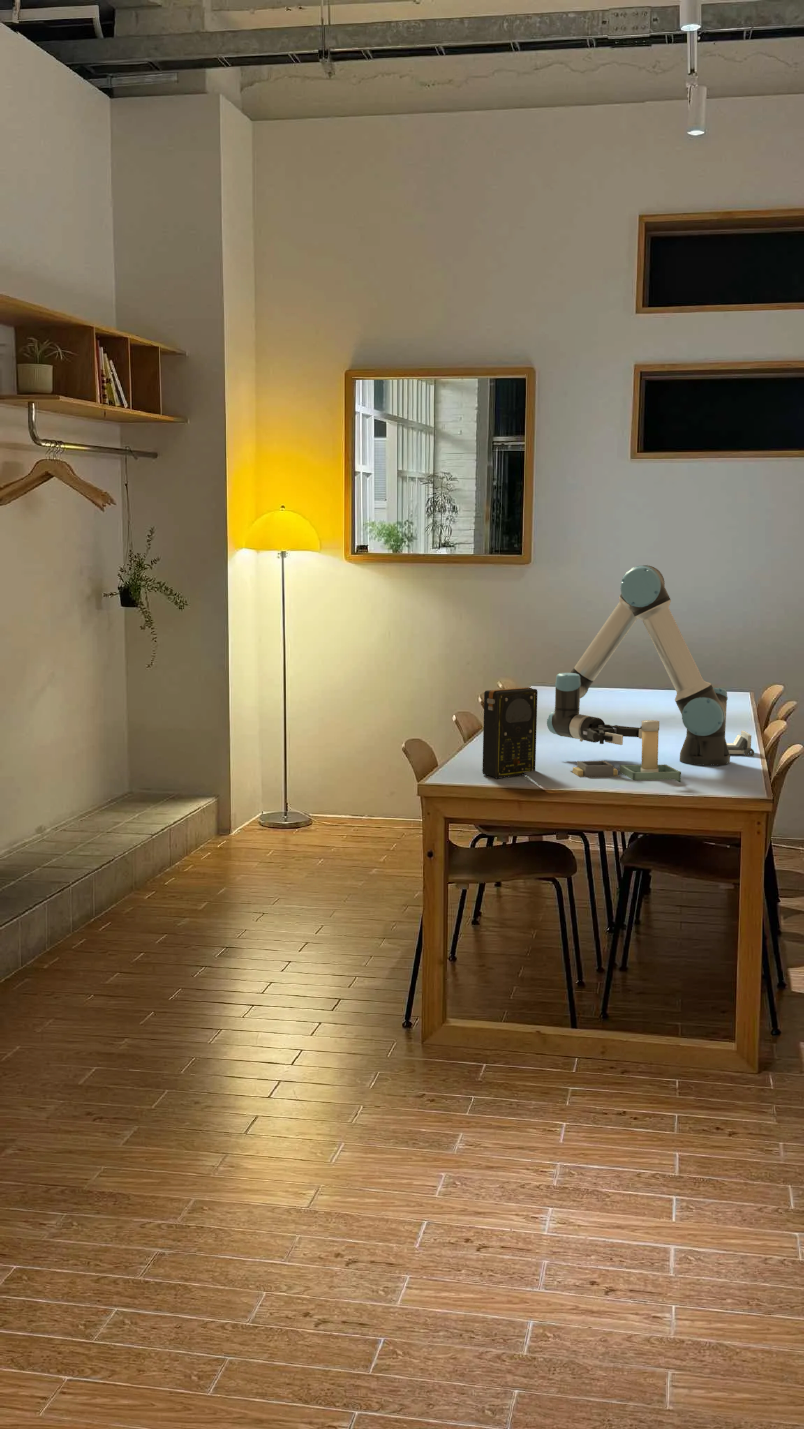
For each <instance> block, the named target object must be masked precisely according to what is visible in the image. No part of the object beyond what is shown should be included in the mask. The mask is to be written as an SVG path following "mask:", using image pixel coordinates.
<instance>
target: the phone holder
mask: <svg viewBox="0 0 804 1429" xmlns="http://www.w3.org/2000/svg"><path fill="white" fill-rule="evenodd" d="M726 743H727V747H728V750H729V754H730V755H744V756H745V757H749V758H752V757H754V756H755V751H754V749H753V748H752V735H751V734H750V733H748V732H747V731H745V730H741V731H740V734H737V736H736V737H735V739H734V741H733V743H732V742H726Z"/></svg>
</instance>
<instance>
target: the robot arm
mask: <svg viewBox="0 0 804 1429" xmlns="http://www.w3.org/2000/svg"><path fill="white" fill-rule="evenodd" d="M665 583H666V582H665V578H664V576H663V574H662V572H661V571H660V570H659V569H658V568H656V567H655V566H652V565H648V564H647V565H644V564H643V565H636V566H634V567H631V569H629V570H627V571H626V572H625V574H624V575H623V576H622V579H621V581H620V593H621V594H619V597H618V598H619V599H618V600H619V601H618V603H617V605H616V606H615V607H614V609H613V610H612V612H611V613H610V615H609V616H608V618H607V619H606V620H605V622H604V624H603V625H602V626H601V628H600V629H599V631H598V632H597V634H596V635H595V636H594V638H593V640H591V643H590V644H589V645H588V647H587V648H586V649H585V651H584V653H583V654H582V655H581V657H580V658H579V660H578V661H577V663H576V664H575V666H574V667H573V668H572V670H571V671H570V672H560V673H558V674H556V675H555V676H556V677H555V684H554V687H555V696H554V697H555V699H554V701H555V702H554V710H553V711H551V712H550V713H549V715H548V718H547V719H546V726H547V728H548V731H549V732H550V733H551V734H553V735H557V736H560V737H564V738H565V737H566V738H570V739H575V740H579V742H580V743H581V742H583V741H586V742H591V743H594V744H595V743H599V745H603V744H605V743H607V744H608V743H609V744H614V745H620V746H622V745H623V742H624V737H625V738H626V737H628V738H638V739H641V740H642V730H641V726H640V727H637V726H635V727H634V726H625V725H618V724H614V725H611V724H606V723H605V722H604V720H603V718H600V717H598V716H597V717H596V716H591V715H586V714H585V715H584V714H580V703H581V700H580V699H581V698H584V697H585V696H586V695H587V693H588V691H589V689H590V687H591V685H592V684H593V683H594V681H595V680H596V679H597V677H598V676H599V674H600V673H601V671H602V670H603V668H604V667H605V666H606V664H607V663H608V661H609V660H611V657H612V655H613V654H614V653H615V651H616V650H617V649H618V647H619V646H620V644H621V643H622V642H623V640H624V639H625V637H626V636H627V634H628V633H629V631H630V630H631V629H632V628H633V626H634V625H635V624H636V621H637V620H638V619H639V620H641V622H643V625H644V627H645V629H646V631H647V633H648V635H649V638H650V639H651V642H652V643H653V645H654V648H655V650H656V652H657V654H658V656H659V658H660V661H661V662H662V665H663V666H664V669H665V671H666V673H667V675H668V677H669V679H670V682H671V684H672V686H673V687H674V690H675V691H676V695H675V697H674V701H675V704H676V706H677V708H678V710H679V712H680V715H681V720H682V724H683V726H684V727H685V729H686V734H685V735H686V736H685V739H684V741H683V743H682V747H681V749H680V752H679V761H680V762H681V763H684V764H689V765H697V766H724V765H729V764H730V763H731V762H730V761H731V754H729V750H728V747H727V743H728V742H727V740H726V727H727V726H726V724H727V706H728V705H727V703H728V691H727V690H726V689H725V688H721V687H720V688H719V687H713V684H712V683H711V682H708V681H705V680H704V678H703V677H702V675H701V672H700V669H699V668H698V665H697V664H696V661H695V659H694V658H693V655H692V654H691V651H690V649H689V647H688V645H687V643H686V641H685V639H684V637H683V635H682V633H681V631H680V628H679V626H678V624H677V622H676V620H675V618H674V616H673V614H672V611H671V610H670V605H671V602H672V599H671V597H670V595H669V593H668V591H667V589H666V587H665Z"/></svg>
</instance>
